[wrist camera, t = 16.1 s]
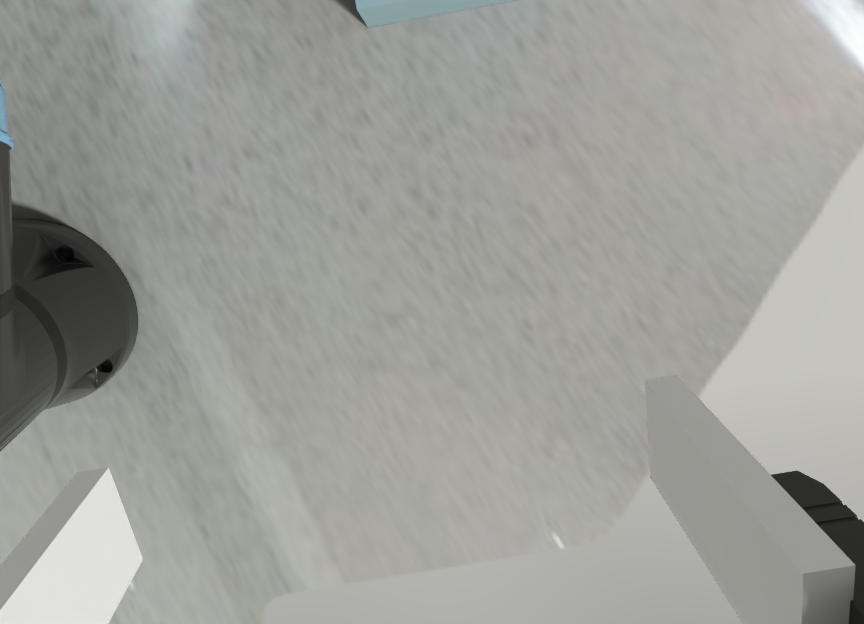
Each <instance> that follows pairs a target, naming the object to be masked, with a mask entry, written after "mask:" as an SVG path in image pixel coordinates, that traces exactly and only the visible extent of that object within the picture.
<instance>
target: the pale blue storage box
mask: <svg viewBox="0 0 864 624" xmlns="http://www.w3.org/2000/svg"><path fill="white" fill-rule="evenodd" d="M512 1H517V0H355V2H356V8H357V11H358V12H359V14H360V16H361V17H362V19H363V20H364V22H365V24H366V25H367V27H368V28H369V27H375V26H380V25H386V24H391V23H397V22H402V21H408V20H413V19H419V18H424V17H430V16H435V15H441V14H446V13H452V12H457V11H463V10H468V9H474V8H479V7H484V6H490V5H495V4H501V3H506V2H512Z"/></svg>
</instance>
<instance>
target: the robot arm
mask: <svg viewBox="0 0 864 624" xmlns="http://www.w3.org/2000/svg"><path fill="white" fill-rule="evenodd" d="M13 149H14V141H13V139H12V138H11V137H10V136H9V128H8V116H7V105H6V94H5V89H4V86H3V83H2V81H1V79H0V451H1V450H2V449H3V448H4V447H5V446H6V445H7V444H8V443H9V442H11V441H12V440H13V439H14V438H15V437H16V436H17V435H18V434H19V433H20V432H21V431H22V430H23V429H24V428H25V427H26V426H27V425H28V424H29V423H30V422H31V421H32V420H34V419H35V418H36V417H37V416H38V415H39V414H40V413H41V412H42V411H43V410H45V409H48V408H52V407H55V406H58V405H62V404H65V403H68V402H72V401H75V400H78V399H81V398H83V397H85V396H87V395H89V394H91V393H92V392H94V391H96V390H97V389H99V388H100V387H102V386H103V385H104V384H105V383H106V382H107V381H108V380H110V379H111V378H112V377H113V376H114V375H115V373H116V372H117V371H118V370H119V369H120V368H121V367H122V366H123V365H124V363H125V362H126V360H127V359H128V357H129V355H130V354H131V352H132V349H133V347H134V344H135V341H136V336H137V330H138V313H137V306H136V302H135V298H134V295H133V292H132V289H131V287H130V285H129V283H128V281H127V279H126V277H125V275H124V274H123V272H122V271H121V269H120V268H119V266H118V265H117V264H116V263H115V261H114V260H113V259H112V258H111V257H110V256H109V255H108V254H107V253H106V252H105V251H104V250H103V249H102V248H101V247H99V246H98V245H97V244H96V243H94V242H93V241H92V240H90V239H89V238H87V237H85V236H84V235H82V234H80V233H78V232H77V231H74V230H72V229H70V228H68V227H65V226H62V225H59V224H56V223H53V222H48V221H43V220H35V219H15V220H12V206H11V180H10V155H9V150H13ZM645 390H646V408H647V426H648V443H649V461H650V478H651V479H652V481H653V482H654V484H655V485H656V487H657V489H658V490H659V492H660V493H661V495H662V497H663V498H664V500H665V501H666V503H667V504H668V506H669V508H670V509H671V511H672V512H673V514H674V516H675V517H676V519H677V520H678V522H679V524H680V525H681V527H682V528H683V530H684V531H685V533H686V535H687V536H688V538H689V539H690V541H691V543H692V544H693V546H694V547H695V549H696V550H697V552H698V554H699V555H700V557H701V558H702V560H703V562H704V563H705V565H706V566H707V568H708V570H709V571H710V573H711V574H712V576H713V577H714V579H715V581H716V582H717V584H718V585H719V587H720V588H721V590H722V592H723V593H724V595H725V596H726V598H727V600H728V601H729V603H730V604H731V606H732V608H733V609H734V611H735V612H736V614H737V615H738V617H739V619H740V620H741V622H742V623H743V624H864V522H863V521H862V520H861V519H860V520H858V518H857V515H856V514H854V513H853V512H852V511H851V510H850V509H849V508H848V507H847V506H846V505H843V504H842V501H841V500H840V499H839V498H838V497H837V496H836V495H835V494H833V493H832V492H831V491H830V490H829V489H828V488H827V487H826V486H825V485H824V484H822V483H820V482H819V481H817V480H815V479H813V478H810V477H809V476H807V475H805V474H803V473H801V472H799V471H792V472H786V473H780V474H773V475H770V474H769V473H768V472H767V471H766V470H765V468H764V467H763V466H761V464H760V463H759V462H758V461H757V460H756V459H755V458H754V457H753V456H752V455H751V454H750V453H749V452H748V450H747V449H746V448H745V447H744V446H743V445H742V444H741V443H740V442H739V441H738V440H737V439H736V438H735V437H734V436H733V435H732V433H731V432H730V431H729V430H728V429H727V428H726V427H725V426H724V425H723V424H722V423H721V422H720V421H719V420H718V418H717V417H716V416H715V415H714V414H713V413H712V412H711V411H710V410H709V409H708V408H707V407H706V406H705V405H704V404H703V403H702V401H701V400H700V399H699V398H698V397H697V396H696V395H695V394H694V393H693V392H692V391H691V390H690V389H689V388H688V387H687V386H686V384H685V383H684V382H683V381H682V380H681V379H680V378H679V377H678V376H677V375H673V376H667V377H660V378H654V379H648V380H645ZM142 560H143V558H142V556H141V553H140V550H139V548H138V545H137V542H136V540H135V537H134V534H133V532H132V529H131V526H130V524H129V521H128V518H127V516H126V513H125V510H124V508H123V505H122V502H121V500H120V497H119V494H118V491H117V489H116V486H115V483H114V481H113V478H112V475H111V473H110V470H109V468H103V469H97V470H90V471H84V472H78V473H77V474H76V475H75V476H74V478H73V479H72V480H71V481H70V482H69V484H68V485H67V486H66V487H65V488H64V490H63V491H62V492H61V493H60V494H59V496H58V497H57V498H56V499H55V500H54V502H53V503H52V504H51V505H50V506H49V508H48V509H47V510H46V511H45V512H44V514H43V515H42V516H41V517H40V519H39V520H38V521H37V522H36V523H35V525H34V526H33V527H32V528H31V529H30V531H29V532H28V533H27V534H26V535H25V537H24V538H23V539H22V540H21V541H20V543H19V544H18V545H17V546H16V547H15V549H14V550H13V551H12V552H11V554H10V555H9V556H8V557H7V558H6V560H5V561H4V562H3V563H2V564H1V566H0V624H108V623H109V621H110V619H111V617H112V615H113V614H114V612H115V610H116V608H117V606H118V604H119V603H120V601H121V599H122V597H123V595H124V593H125V591H126V590H127V588H128V586H129V584H130V582H131V580H132V579H133V577H134V575H135V573H136V571H137V569H138V567H139V566H140V564H141V562H142Z"/></svg>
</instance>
